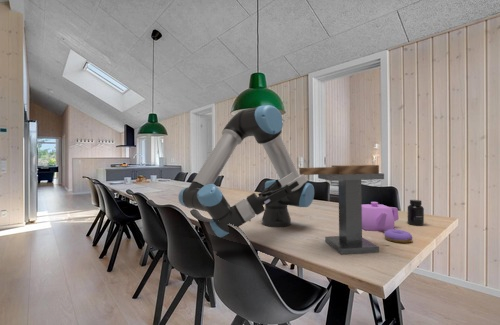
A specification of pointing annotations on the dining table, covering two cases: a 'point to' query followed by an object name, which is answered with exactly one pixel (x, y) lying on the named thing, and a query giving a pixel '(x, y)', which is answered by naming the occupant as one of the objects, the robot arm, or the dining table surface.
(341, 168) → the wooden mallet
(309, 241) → the dining table surface
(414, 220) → the supplement bottle
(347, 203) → the pedestal
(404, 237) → the donut
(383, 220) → the teakettle
